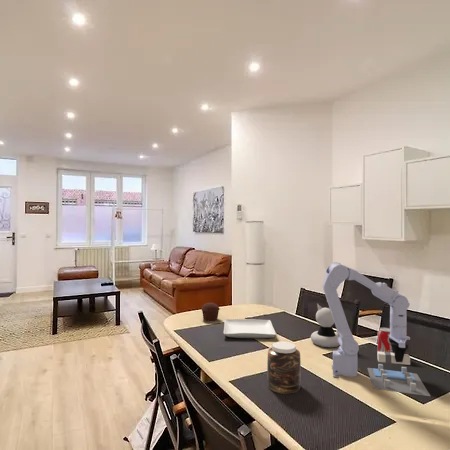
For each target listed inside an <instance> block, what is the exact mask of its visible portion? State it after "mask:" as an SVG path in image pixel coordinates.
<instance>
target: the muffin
mask: <svg viewBox="0 0 450 450" xmlns="http://www.w3.org/2000/svg"><path fill="white" fill-rule="evenodd" d="M200 310H201V311H202V312H201V313H202V319H203V321H205V322H215V321H218V319H219V318H218V317H219V312H220V310H221V309H220V307H219V306H218V304H216V303H214V302H207V303H204V304H203V305H202V306H201V309H200Z"/></svg>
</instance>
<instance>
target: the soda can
mask: <svg viewBox="0 0 450 450" xmlns="http://www.w3.org/2000/svg"><path fill="white" fill-rule="evenodd" d="M389 335H390V327H384V326H383V327H379V328H378V330H377V337H376V338H377V342H376V343H377V349H376V350H377V351H379V352H390V353H393V351H392V346H391V343H390V341H389V338H390V337H389Z"/></svg>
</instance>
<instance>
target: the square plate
mask: <svg viewBox="0 0 450 450" xmlns="http://www.w3.org/2000/svg"><path fill="white" fill-rule="evenodd" d="M223 321H224V322H223V323H224V325H223V326H224V327H223V335H225V336H226V337H228V338H236V339H271V338H274V337H276V335H277V332H276V330H275V328H274V326H273V323H272V321H271V319H253V318H250V319H249V318H231V319H230V318H229V319H228V318H226V319H224V320H223Z"/></svg>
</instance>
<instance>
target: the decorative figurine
mask: <svg viewBox="0 0 450 450" xmlns="http://www.w3.org/2000/svg"><path fill="white" fill-rule="evenodd" d="M316 305H317V311H316V313H315V321H316V323H317V324H318V325H320V327H319V328H318V330H316V331H314V332H312V333H311V335H310V340H311V342H312V343H313V344H315V345H316V346H319V347H322V348H336V347H340V345H339V343H338V341H337V338H338V334H337V332H335V330H334V327H333V325H335V322H334V319H333V316H332V313H331V310H330V308H329V307H322V306H321V305H319V303H316Z"/></svg>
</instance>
